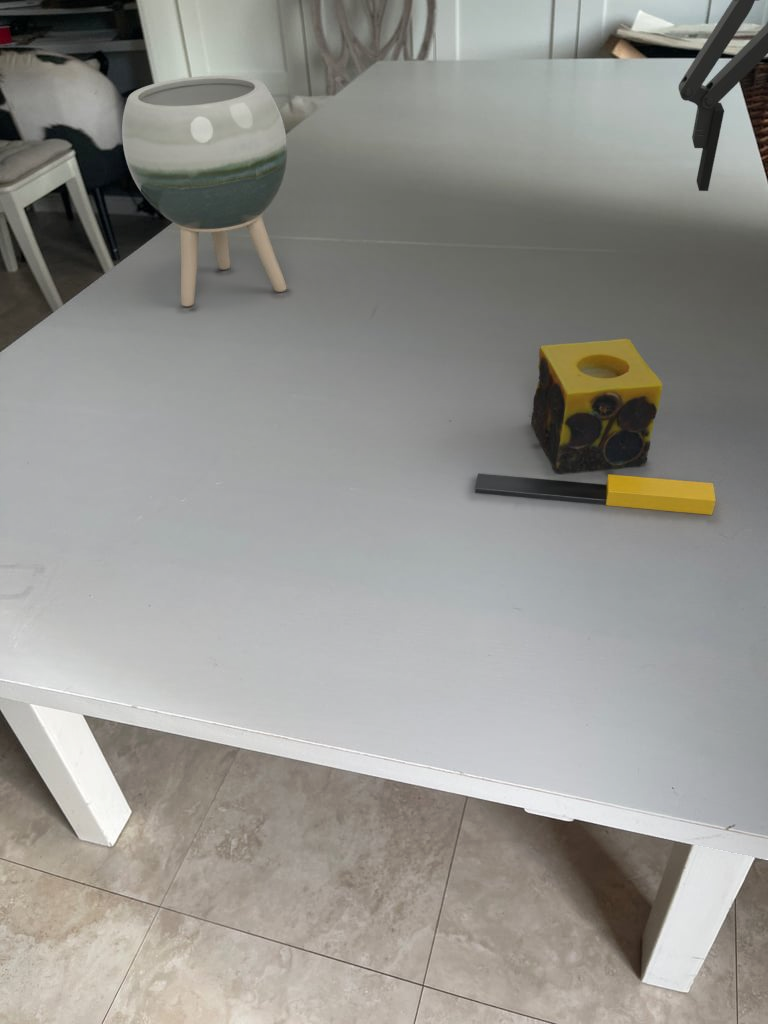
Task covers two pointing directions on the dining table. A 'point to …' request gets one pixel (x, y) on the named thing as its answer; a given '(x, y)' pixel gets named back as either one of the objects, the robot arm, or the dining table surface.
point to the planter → (208, 162)
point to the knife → (609, 492)
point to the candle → (594, 405)
